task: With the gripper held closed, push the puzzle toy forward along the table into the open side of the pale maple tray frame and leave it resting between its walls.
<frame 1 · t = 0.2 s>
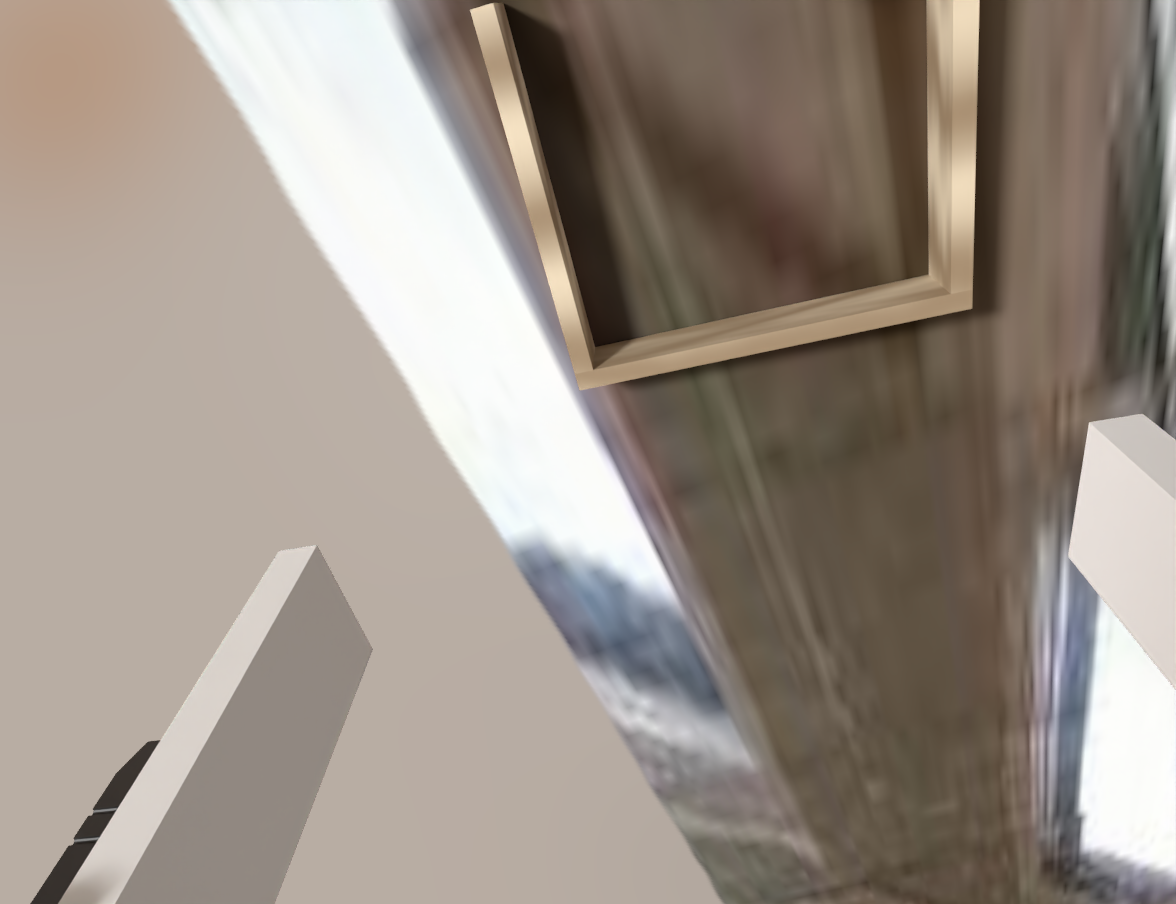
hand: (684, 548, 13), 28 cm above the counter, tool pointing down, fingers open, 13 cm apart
tray: (731, 138, 35), on the counter
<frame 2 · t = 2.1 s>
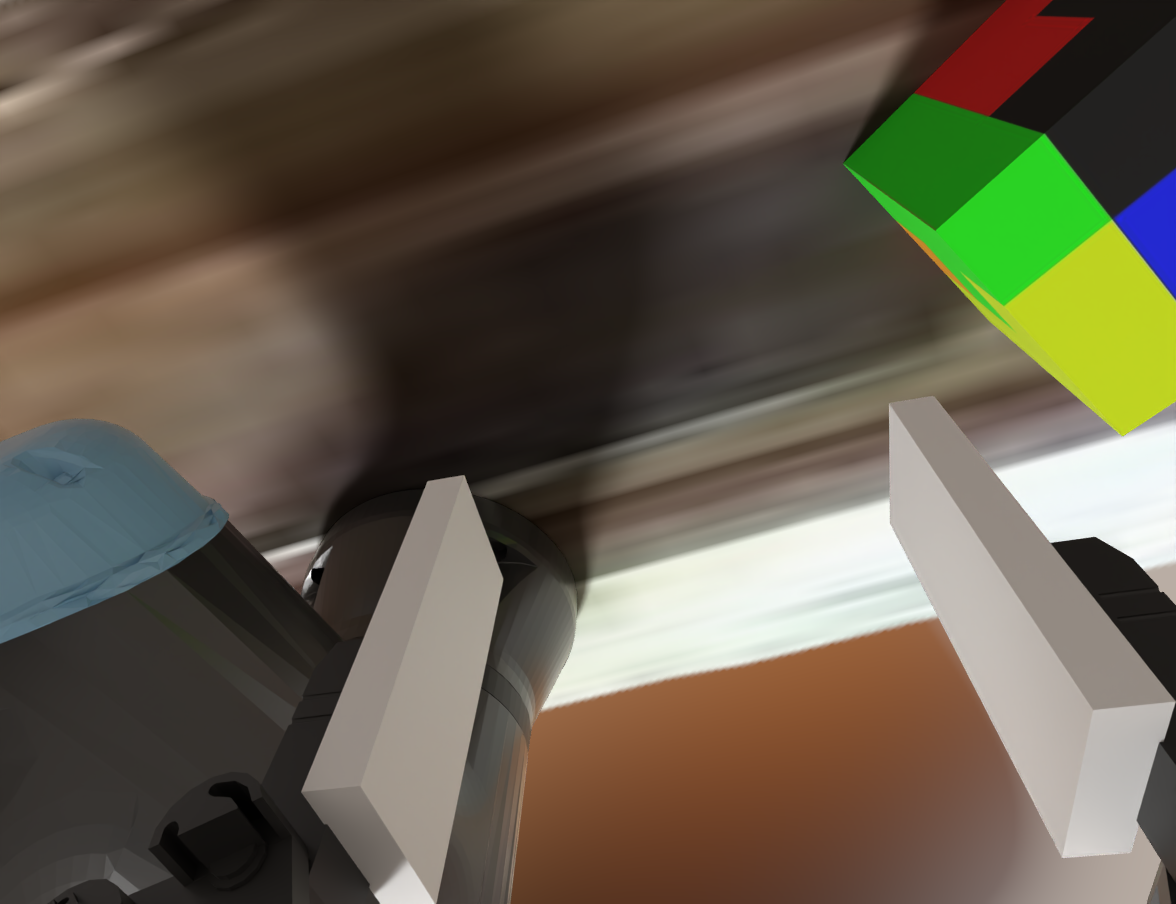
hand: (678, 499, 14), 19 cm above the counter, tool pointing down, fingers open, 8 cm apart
puzzle toy: (1025, 148, 28), on the counter
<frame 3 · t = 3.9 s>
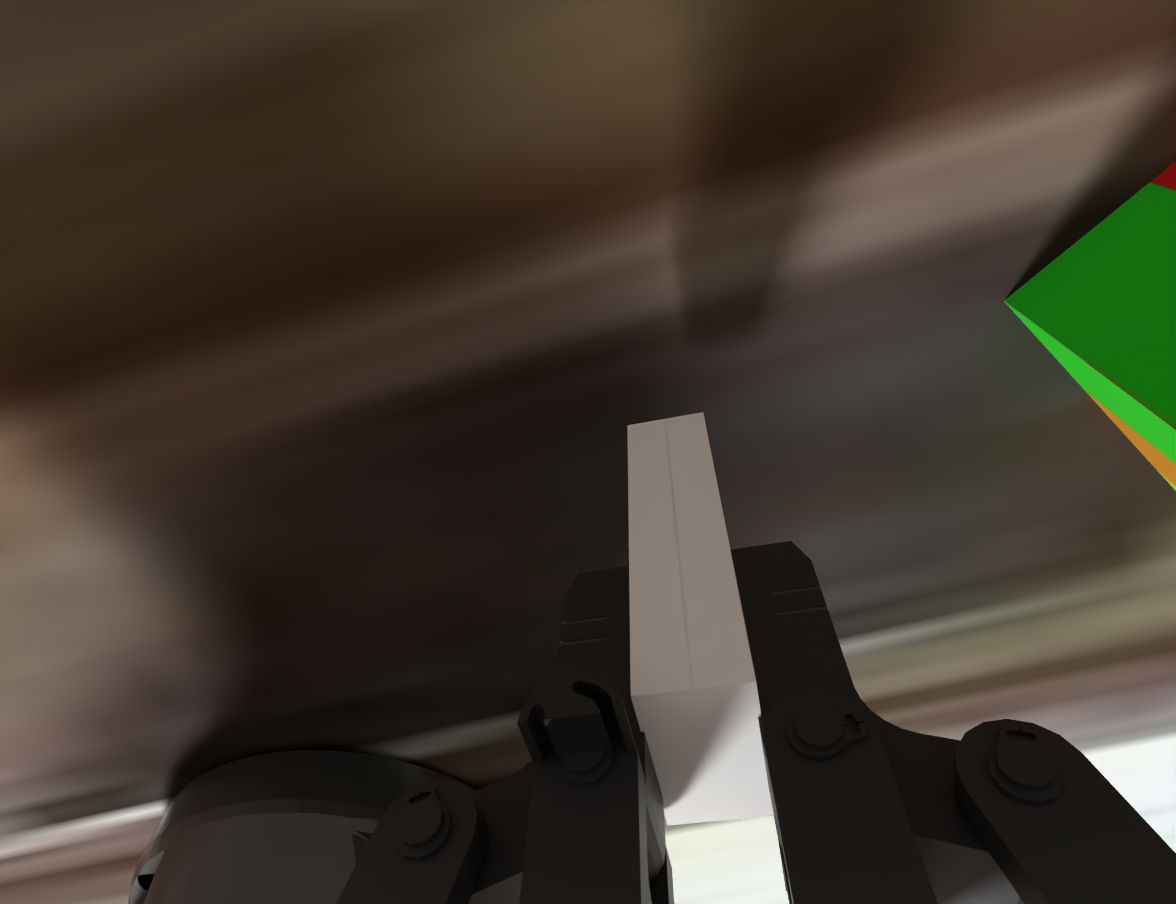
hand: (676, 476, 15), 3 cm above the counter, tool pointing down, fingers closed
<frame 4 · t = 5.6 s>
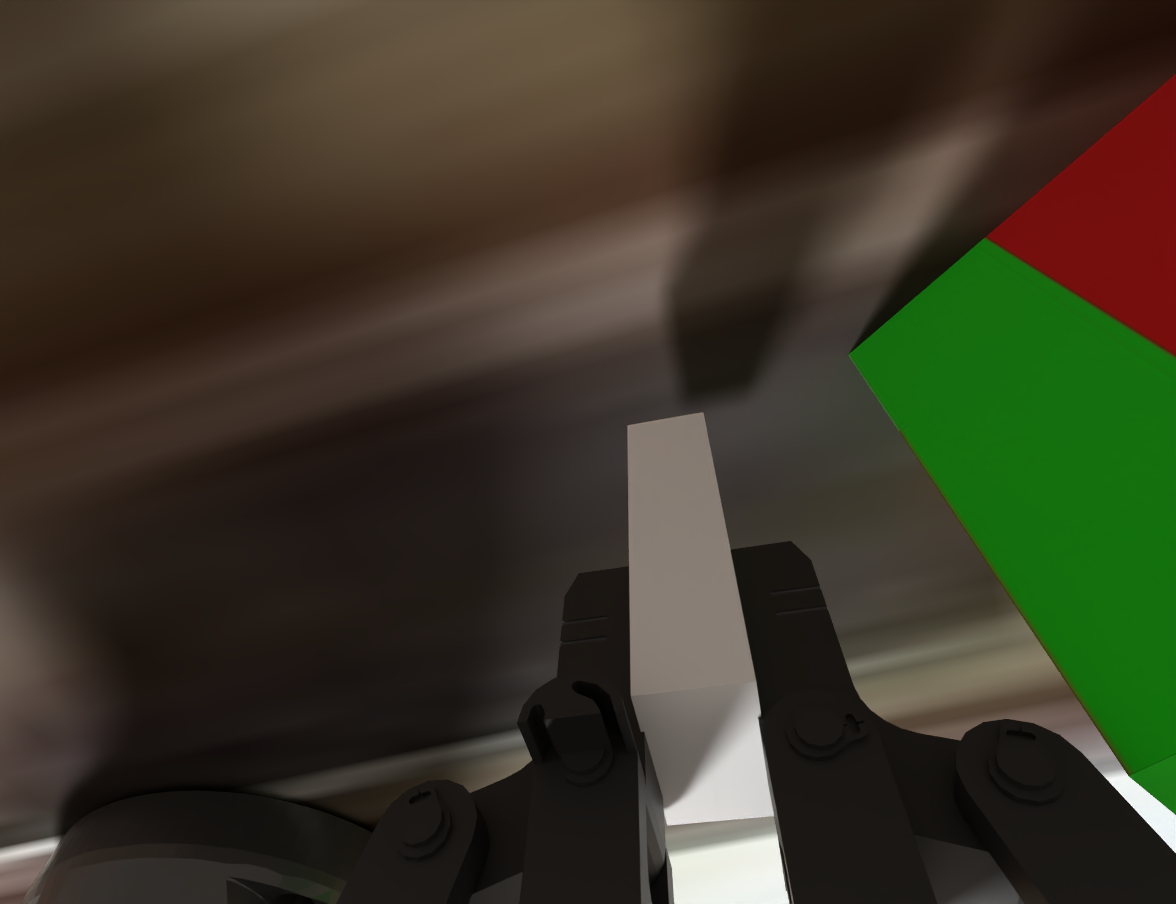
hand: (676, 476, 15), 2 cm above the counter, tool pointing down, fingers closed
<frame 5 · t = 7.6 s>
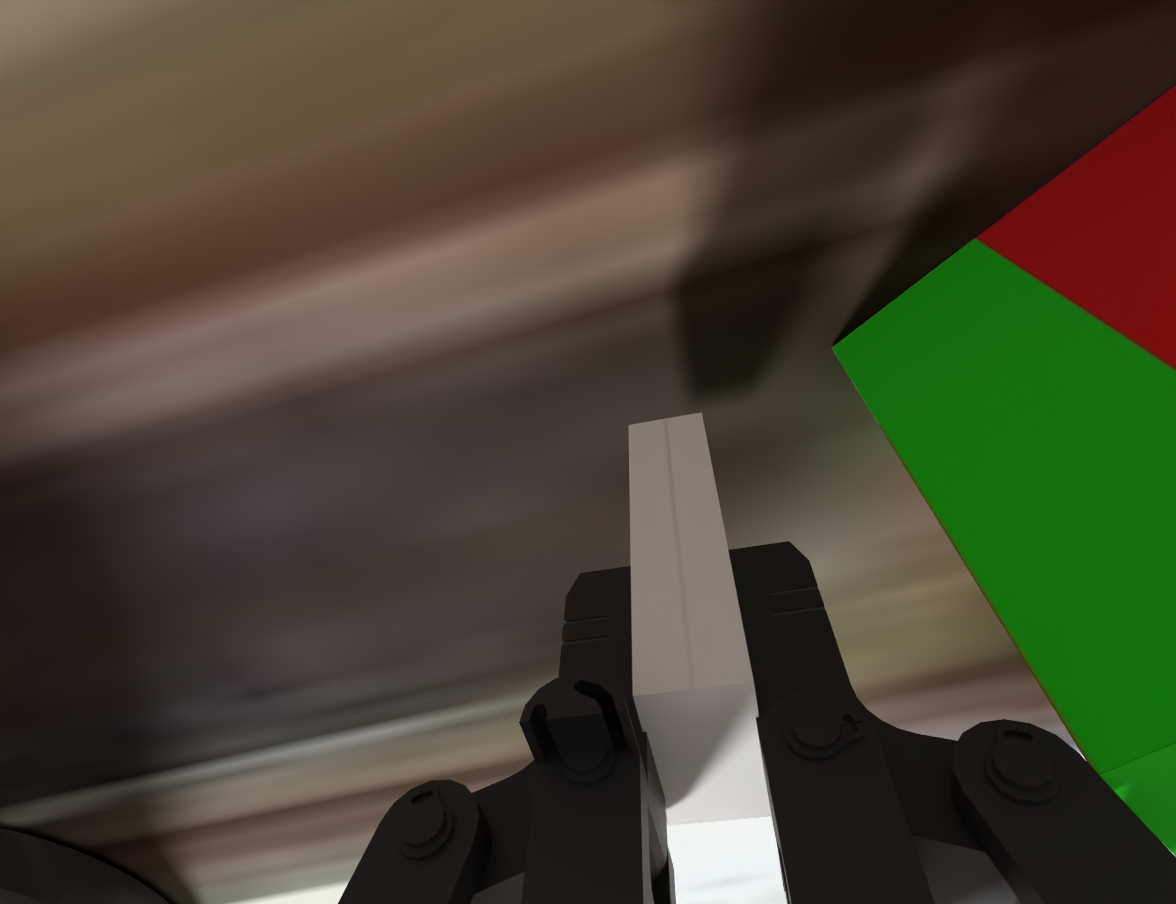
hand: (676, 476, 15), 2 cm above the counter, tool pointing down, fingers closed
puzzle toy: (1166, 349, 15), on the counter, touching hand
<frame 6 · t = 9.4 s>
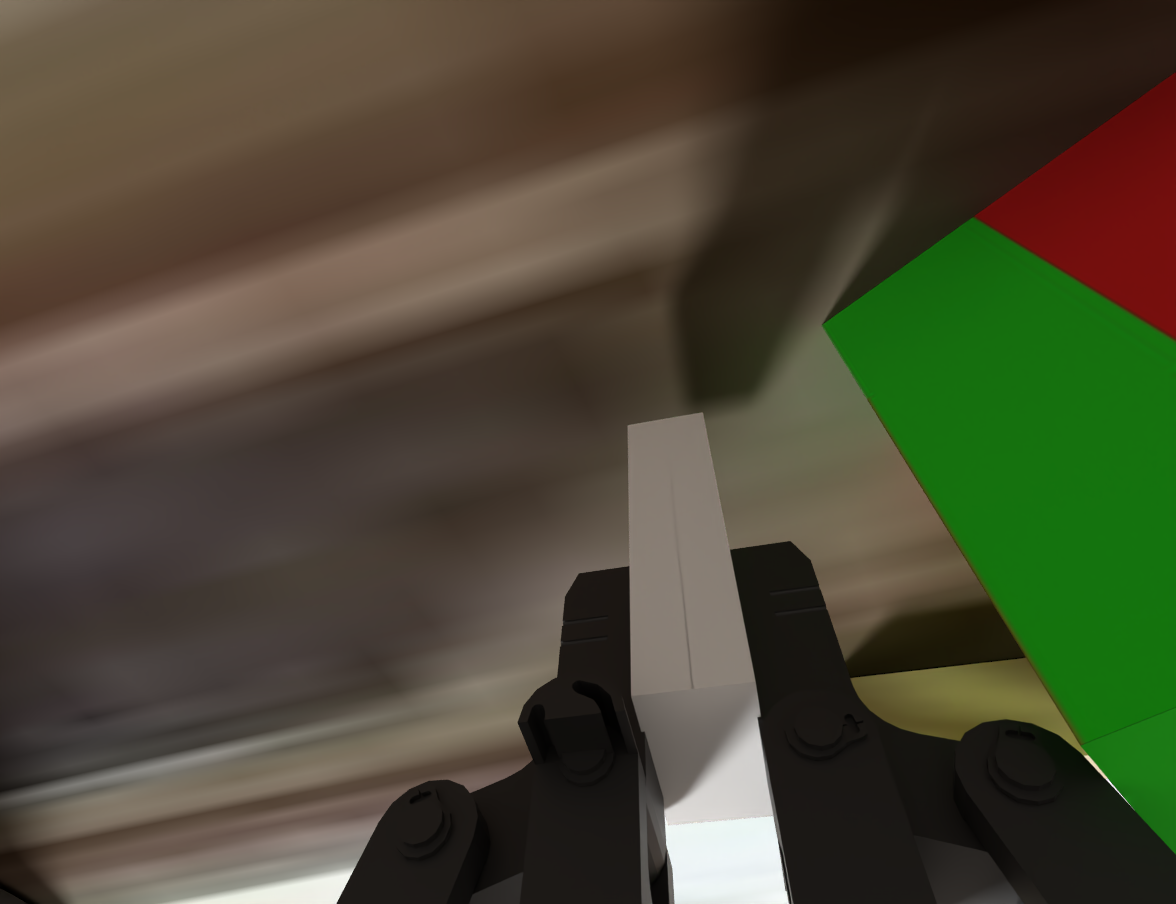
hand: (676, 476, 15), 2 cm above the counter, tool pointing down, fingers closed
puzzle toy: (1157, 342, 15), on the counter, touching hand
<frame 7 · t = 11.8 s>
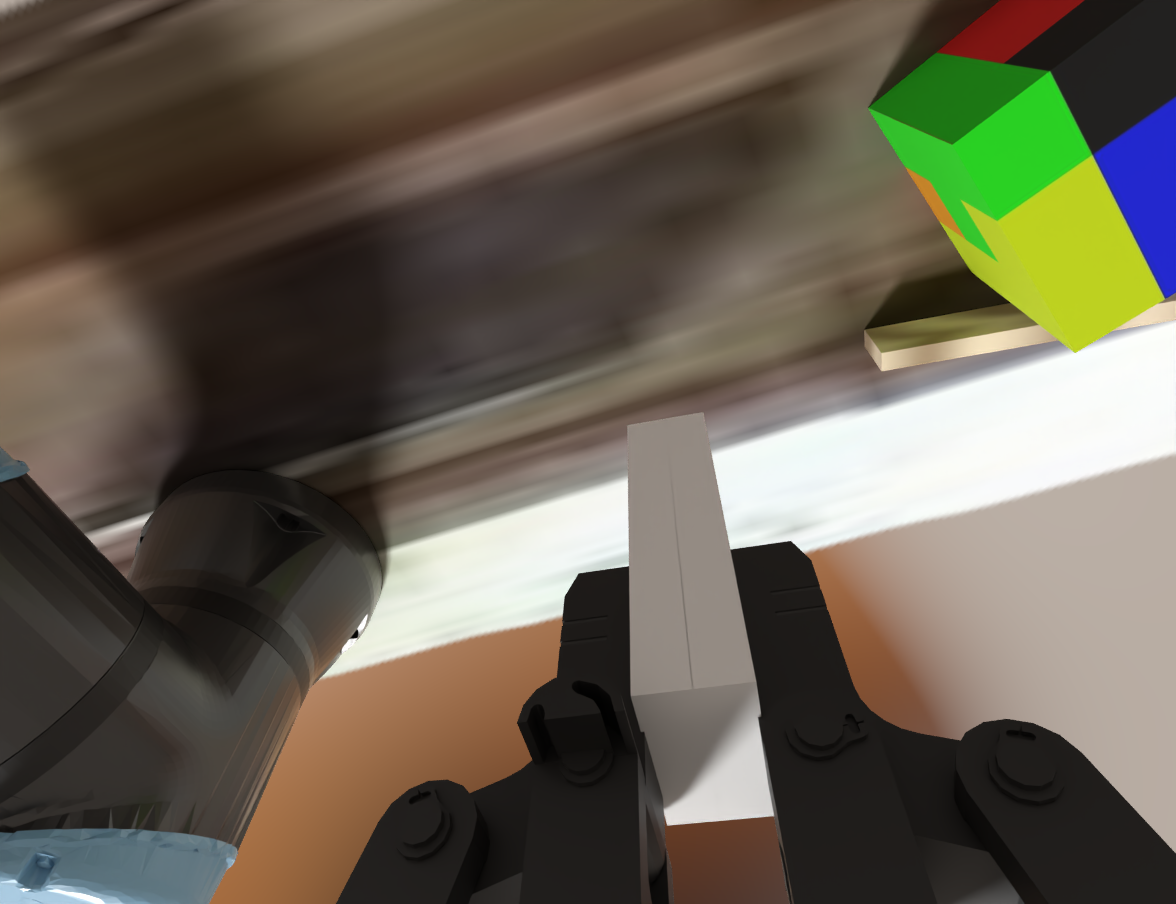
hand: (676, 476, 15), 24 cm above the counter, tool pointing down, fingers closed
puzzle toy: (1021, 118, 33), on the counter
tray: (1043, 111, 32), on the counter
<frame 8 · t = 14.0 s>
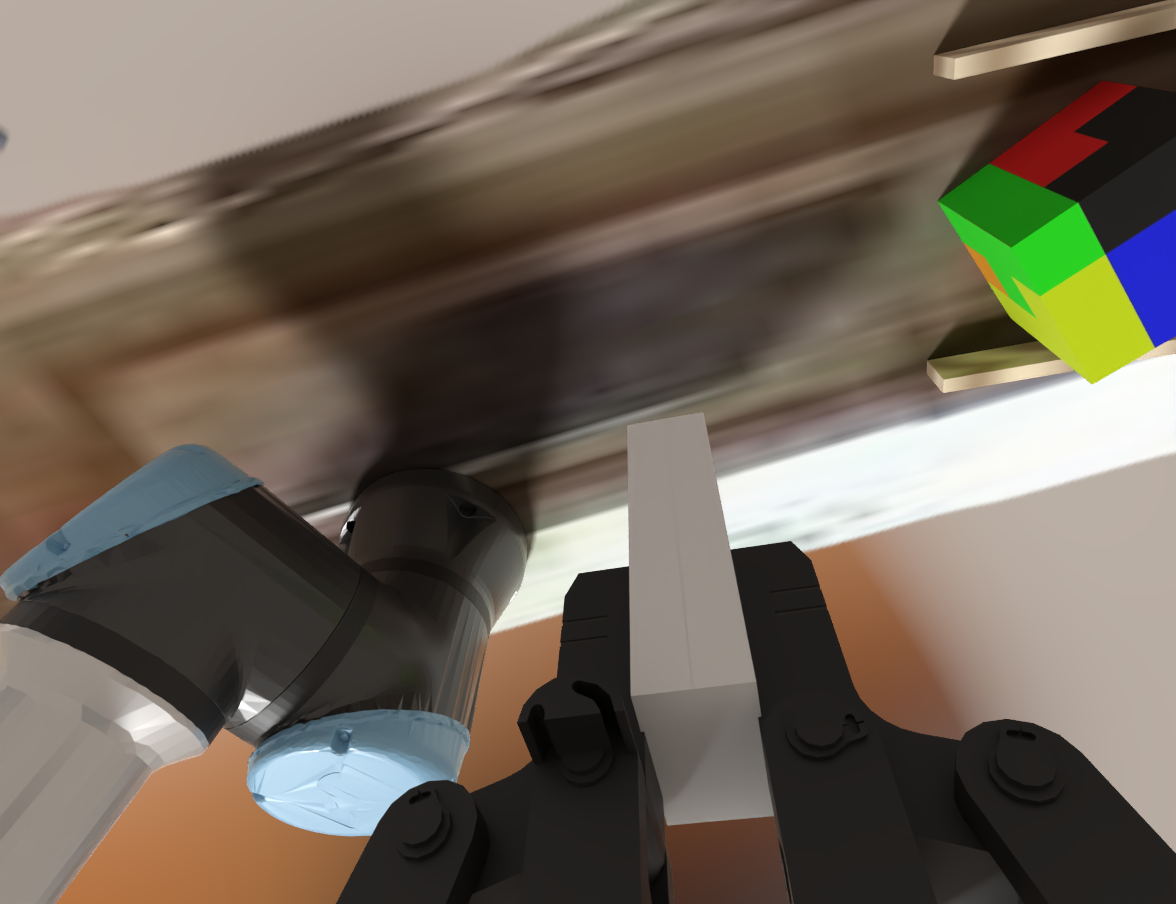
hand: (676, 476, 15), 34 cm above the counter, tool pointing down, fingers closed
puzzle toy: (1050, 208, 45), on the counter
tray: (1066, 204, 44), on the counter
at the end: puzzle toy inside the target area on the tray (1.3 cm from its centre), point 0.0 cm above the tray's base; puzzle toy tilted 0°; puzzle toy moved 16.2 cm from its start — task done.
